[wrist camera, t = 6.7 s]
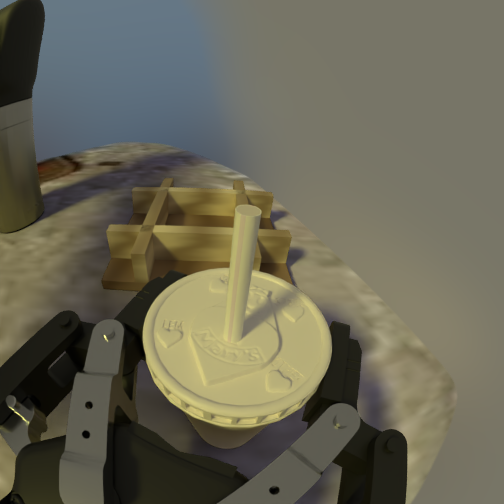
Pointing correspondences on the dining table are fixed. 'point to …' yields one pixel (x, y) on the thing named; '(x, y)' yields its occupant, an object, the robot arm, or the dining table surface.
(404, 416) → the dining table surface
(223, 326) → the smoothie
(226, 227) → the wooden grid tray
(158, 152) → the dining table surface
